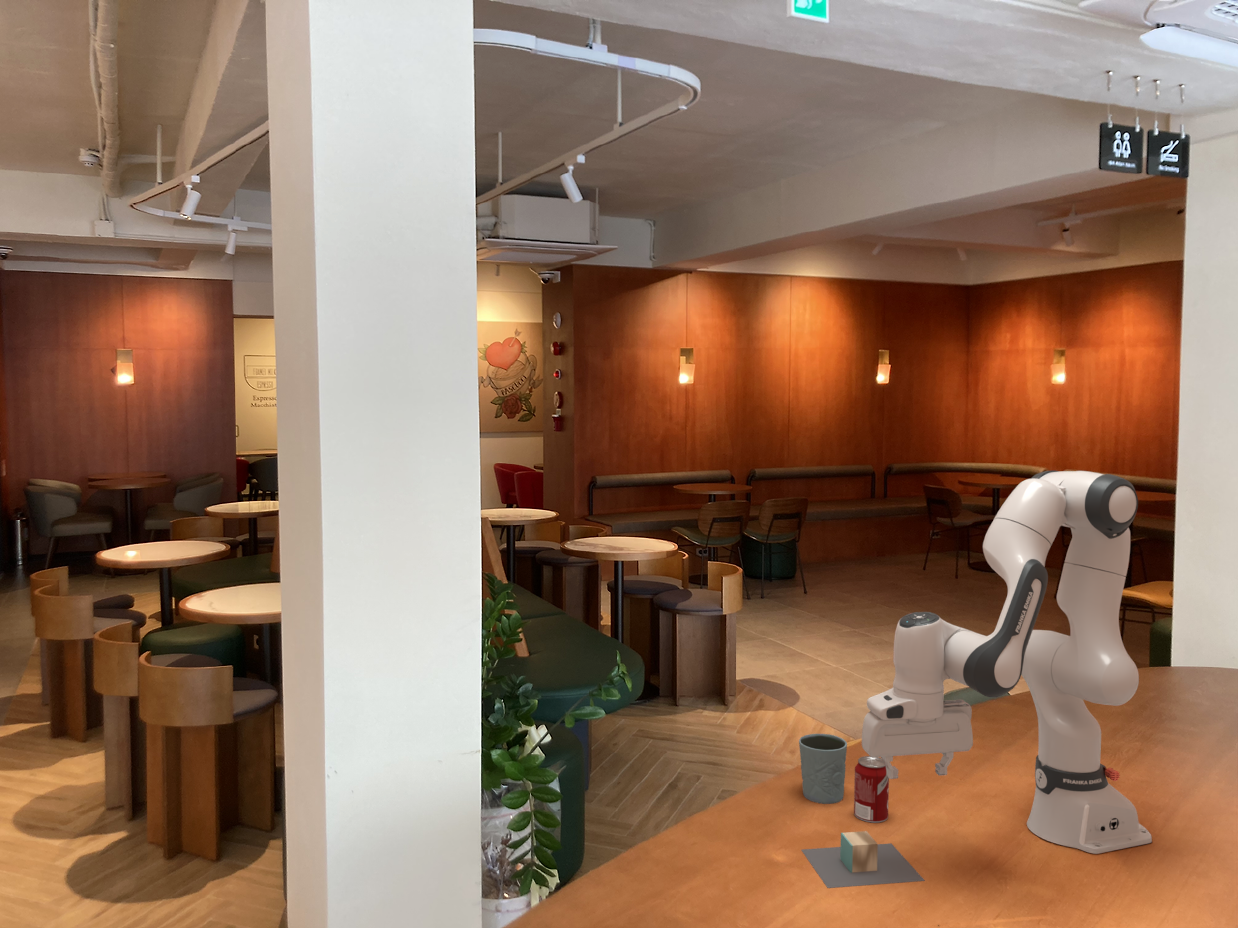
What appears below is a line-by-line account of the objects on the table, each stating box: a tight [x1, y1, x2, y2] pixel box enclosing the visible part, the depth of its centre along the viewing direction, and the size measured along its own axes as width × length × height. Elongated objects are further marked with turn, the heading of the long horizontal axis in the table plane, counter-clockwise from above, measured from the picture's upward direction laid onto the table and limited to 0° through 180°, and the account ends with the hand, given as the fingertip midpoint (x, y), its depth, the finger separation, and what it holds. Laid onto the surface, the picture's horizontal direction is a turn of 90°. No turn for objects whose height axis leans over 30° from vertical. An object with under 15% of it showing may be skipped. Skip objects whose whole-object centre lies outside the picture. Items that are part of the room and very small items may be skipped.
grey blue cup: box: [798, 733, 848, 805], centre depth 203 cm, size 10×10×12 cm
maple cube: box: [840, 830, 879, 873], centre depth 172 cm, size 5×5×5 cm
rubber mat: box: [800, 842, 926, 889], centre depth 172 cm, size 18×14×1 cm
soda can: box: [853, 755, 890, 824], centre depth 192 cm, size 7×7×12 cm
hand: (916, 775), depth 172 cm, fingers open, 8 cm apart
